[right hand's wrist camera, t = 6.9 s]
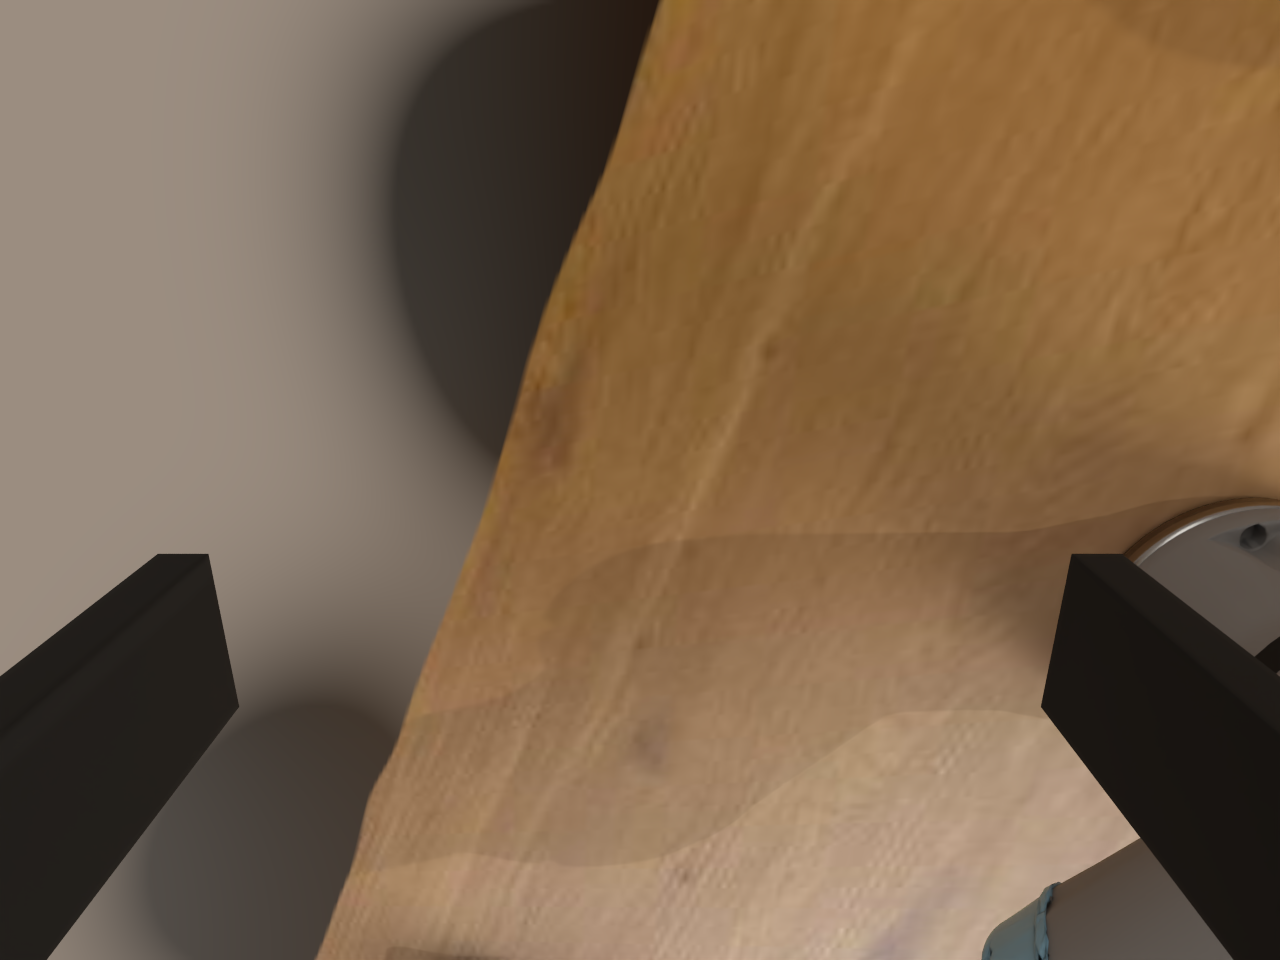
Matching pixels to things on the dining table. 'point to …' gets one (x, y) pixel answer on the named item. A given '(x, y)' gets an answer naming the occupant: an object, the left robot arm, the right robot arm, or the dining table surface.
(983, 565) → the dining table surface
